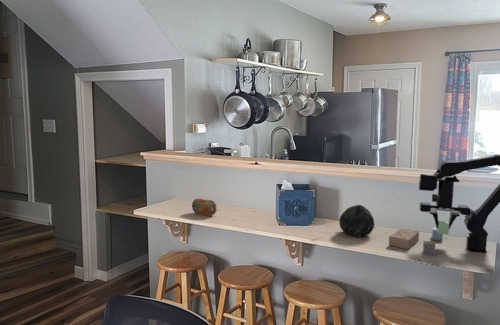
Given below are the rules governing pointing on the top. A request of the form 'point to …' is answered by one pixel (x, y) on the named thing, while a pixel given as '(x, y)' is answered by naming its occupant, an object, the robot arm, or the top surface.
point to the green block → (443, 227)
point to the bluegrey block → (436, 234)
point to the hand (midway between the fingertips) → (442, 228)
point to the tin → (204, 207)
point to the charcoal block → (429, 248)
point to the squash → (357, 221)
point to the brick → (404, 238)
